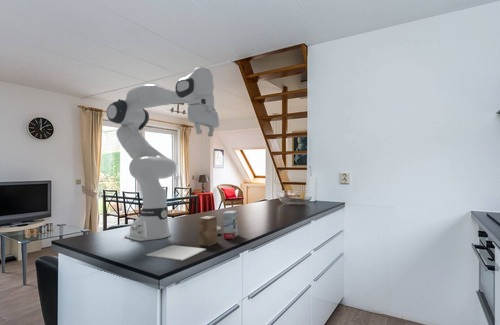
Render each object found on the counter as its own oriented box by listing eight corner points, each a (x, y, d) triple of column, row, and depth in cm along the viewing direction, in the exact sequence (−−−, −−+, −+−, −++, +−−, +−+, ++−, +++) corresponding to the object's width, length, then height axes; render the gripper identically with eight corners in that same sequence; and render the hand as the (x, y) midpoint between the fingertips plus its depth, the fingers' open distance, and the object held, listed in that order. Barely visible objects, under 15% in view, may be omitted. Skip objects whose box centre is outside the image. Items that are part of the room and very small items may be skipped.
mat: (146, 255, 101) (146, 254, 101) (172, 246, 114) (172, 245, 114) (182, 260, 94) (182, 259, 94) (206, 249, 107) (206, 248, 107)
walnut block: (199, 245, 114) (198, 218, 115) (207, 241, 120) (206, 215, 120) (209, 246, 112) (208, 218, 112) (217, 242, 117) (216, 216, 118)
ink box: (233, 239, 122) (232, 212, 123) (223, 239, 123) (222, 212, 124) (238, 234, 131) (237, 210, 131) (228, 234, 132) (227, 210, 132)
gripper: (210, 109, 132) (211, 138, 132) (184, 100, 113) (185, 133, 113) (221, 108, 130) (222, 137, 129) (197, 98, 111) (198, 131, 111)
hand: (205, 135), depth 121 cm, fingers open, 8 cm apart
